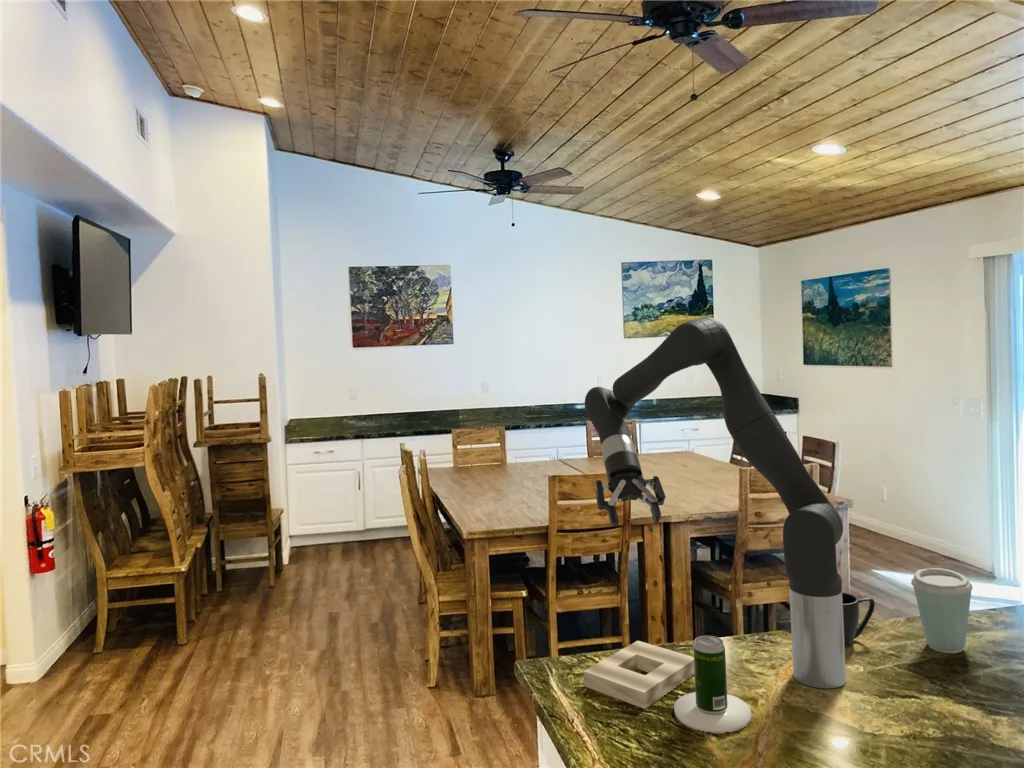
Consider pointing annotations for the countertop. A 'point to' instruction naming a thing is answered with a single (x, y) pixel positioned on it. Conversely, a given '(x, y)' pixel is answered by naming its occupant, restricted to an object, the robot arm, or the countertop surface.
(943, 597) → the disposable coffee cup
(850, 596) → the mug
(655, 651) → the beige rectangular frame
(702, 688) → the beer can
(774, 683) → the countertop surface
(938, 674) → the countertop surface
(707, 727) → the white round disc
